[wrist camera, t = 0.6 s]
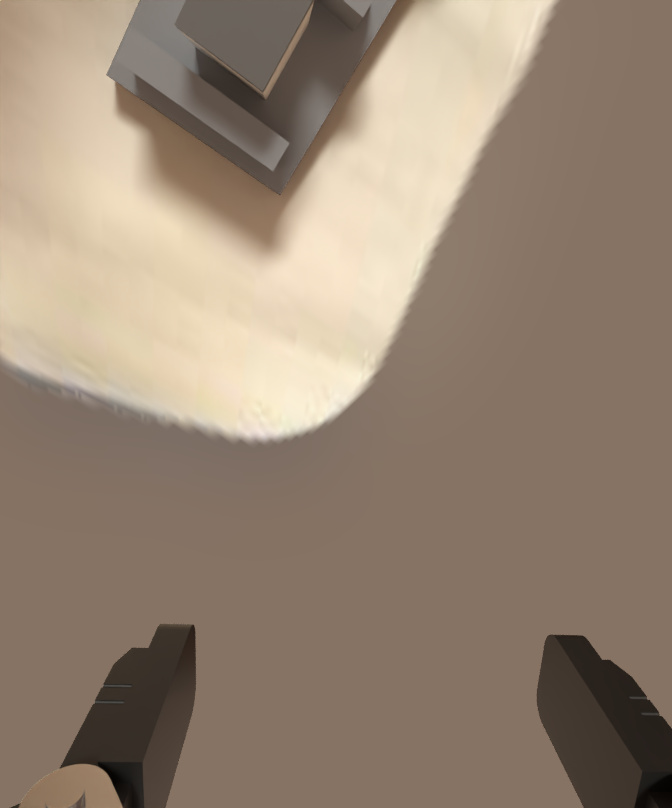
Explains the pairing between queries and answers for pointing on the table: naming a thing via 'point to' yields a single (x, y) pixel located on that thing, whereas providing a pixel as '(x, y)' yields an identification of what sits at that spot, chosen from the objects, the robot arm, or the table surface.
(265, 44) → the grey block
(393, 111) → the table surface
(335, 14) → the grey fixture board
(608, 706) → the robot arm
